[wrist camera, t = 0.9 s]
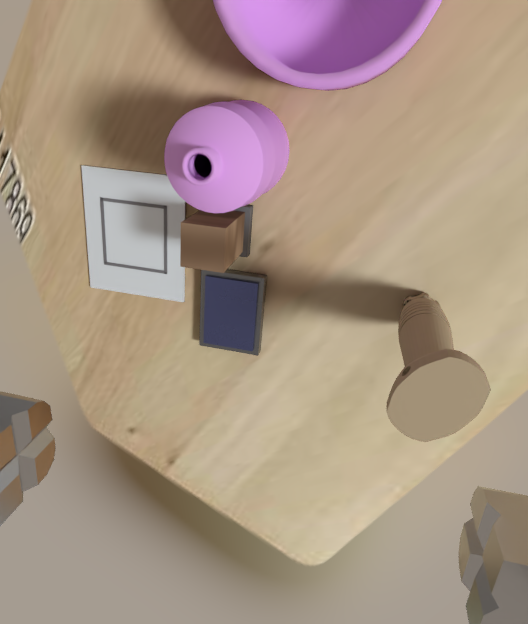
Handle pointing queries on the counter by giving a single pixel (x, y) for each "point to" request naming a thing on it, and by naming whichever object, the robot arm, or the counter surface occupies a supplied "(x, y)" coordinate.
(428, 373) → the handle
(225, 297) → the ink tin
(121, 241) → the card
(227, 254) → the stamp
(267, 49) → the container set
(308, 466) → the counter surface
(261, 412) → the counter surface
